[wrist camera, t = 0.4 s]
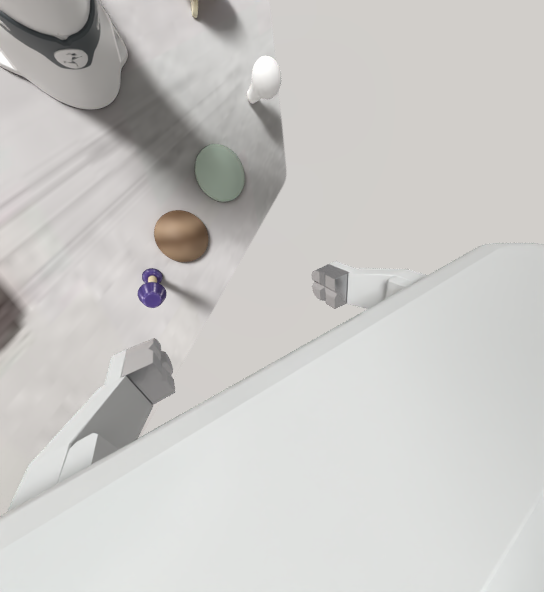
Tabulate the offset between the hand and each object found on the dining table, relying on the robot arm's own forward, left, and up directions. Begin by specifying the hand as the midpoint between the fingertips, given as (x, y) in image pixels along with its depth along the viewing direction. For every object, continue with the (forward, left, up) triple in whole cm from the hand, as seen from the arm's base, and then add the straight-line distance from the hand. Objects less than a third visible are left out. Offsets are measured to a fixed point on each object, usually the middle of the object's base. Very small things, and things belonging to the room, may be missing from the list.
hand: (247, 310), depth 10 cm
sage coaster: (-10, +18, -47) cm, 51 cm away
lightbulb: (-23, +32, -47) cm, 61 cm away
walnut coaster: (0, +3, -47) cm, 47 cm away
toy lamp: (+6, -8, -47) cm, 48 cm away
